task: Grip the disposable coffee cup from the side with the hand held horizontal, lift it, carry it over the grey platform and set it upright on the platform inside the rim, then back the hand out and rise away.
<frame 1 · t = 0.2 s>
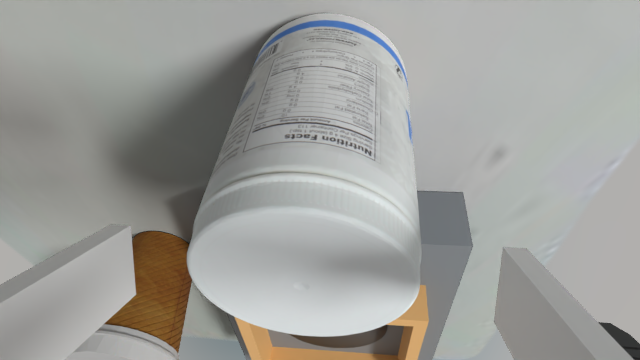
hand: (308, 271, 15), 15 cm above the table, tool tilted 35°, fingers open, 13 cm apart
grey platform: (336, 275, 44), on the table
supplement tub: (330, 77, 27), on the table
disposable coffee cup: (165, 248, 43), on the table
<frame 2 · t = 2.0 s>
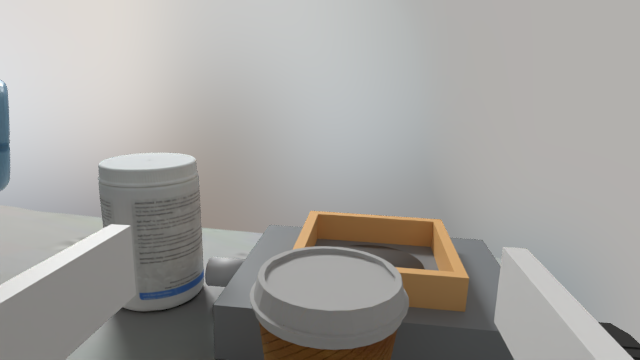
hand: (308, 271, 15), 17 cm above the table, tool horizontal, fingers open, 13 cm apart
grey platform: (370, 311, 45), on the table
supplement tub: (158, 293, 48), on the table
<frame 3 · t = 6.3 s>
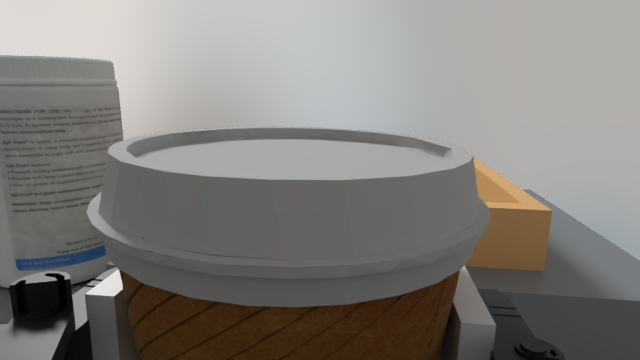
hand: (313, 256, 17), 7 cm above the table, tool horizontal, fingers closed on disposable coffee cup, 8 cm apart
grey platform: (376, 286, 30), on the table
supplement tub: (62, 267, 32), on the table
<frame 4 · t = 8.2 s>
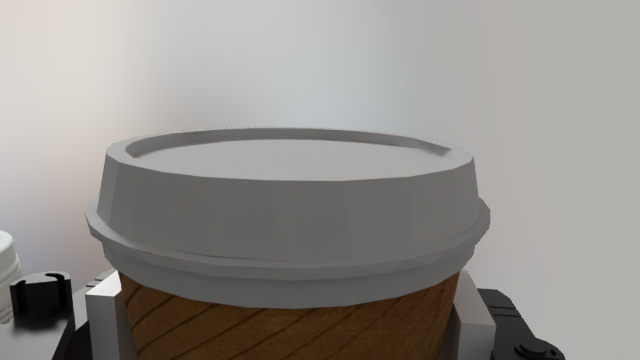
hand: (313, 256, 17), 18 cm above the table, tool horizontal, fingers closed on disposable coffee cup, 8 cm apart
when the fingers open (14 cm above the table, at t = 10.2 s): disposable coffee cup drops 1 cm, resting on grey platform.
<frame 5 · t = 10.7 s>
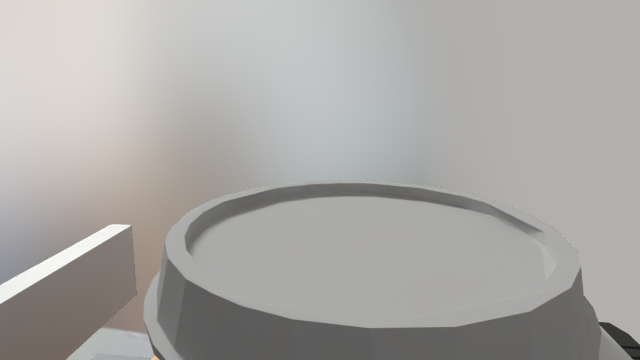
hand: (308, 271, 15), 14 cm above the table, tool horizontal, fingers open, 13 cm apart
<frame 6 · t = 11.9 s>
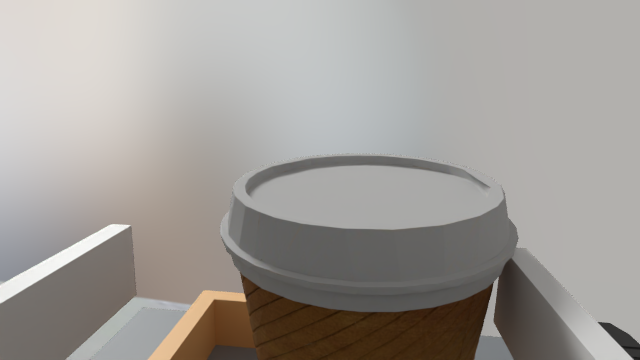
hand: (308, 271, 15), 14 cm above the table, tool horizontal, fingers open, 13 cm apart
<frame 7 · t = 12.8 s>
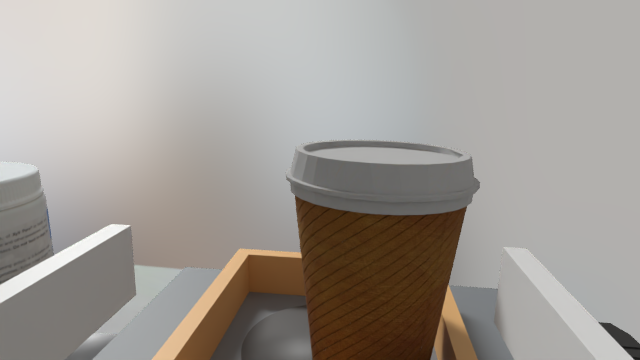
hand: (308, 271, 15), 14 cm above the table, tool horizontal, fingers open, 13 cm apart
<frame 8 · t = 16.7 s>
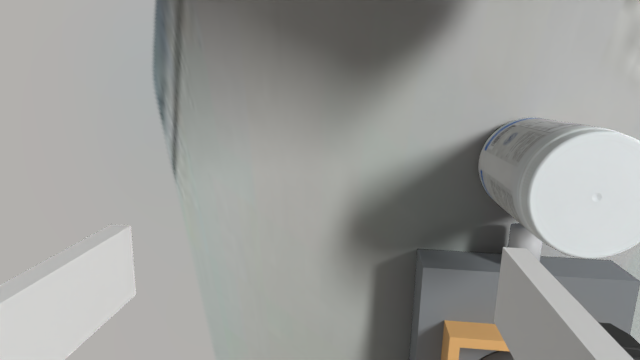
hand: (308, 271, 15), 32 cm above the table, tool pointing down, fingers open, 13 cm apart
supplement tub: (523, 162, 45), on the table
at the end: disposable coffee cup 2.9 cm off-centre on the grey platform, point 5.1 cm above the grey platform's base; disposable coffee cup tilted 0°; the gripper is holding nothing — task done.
